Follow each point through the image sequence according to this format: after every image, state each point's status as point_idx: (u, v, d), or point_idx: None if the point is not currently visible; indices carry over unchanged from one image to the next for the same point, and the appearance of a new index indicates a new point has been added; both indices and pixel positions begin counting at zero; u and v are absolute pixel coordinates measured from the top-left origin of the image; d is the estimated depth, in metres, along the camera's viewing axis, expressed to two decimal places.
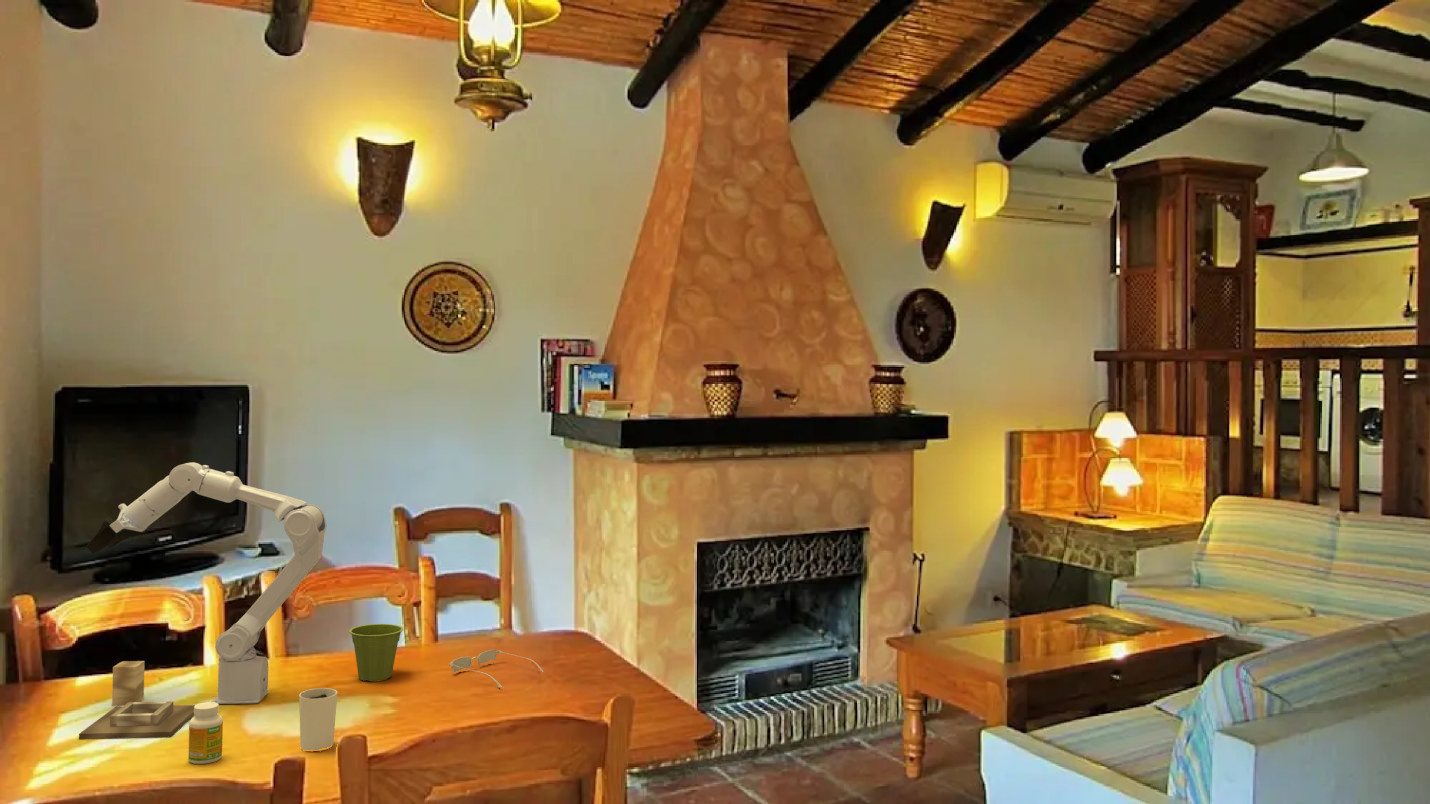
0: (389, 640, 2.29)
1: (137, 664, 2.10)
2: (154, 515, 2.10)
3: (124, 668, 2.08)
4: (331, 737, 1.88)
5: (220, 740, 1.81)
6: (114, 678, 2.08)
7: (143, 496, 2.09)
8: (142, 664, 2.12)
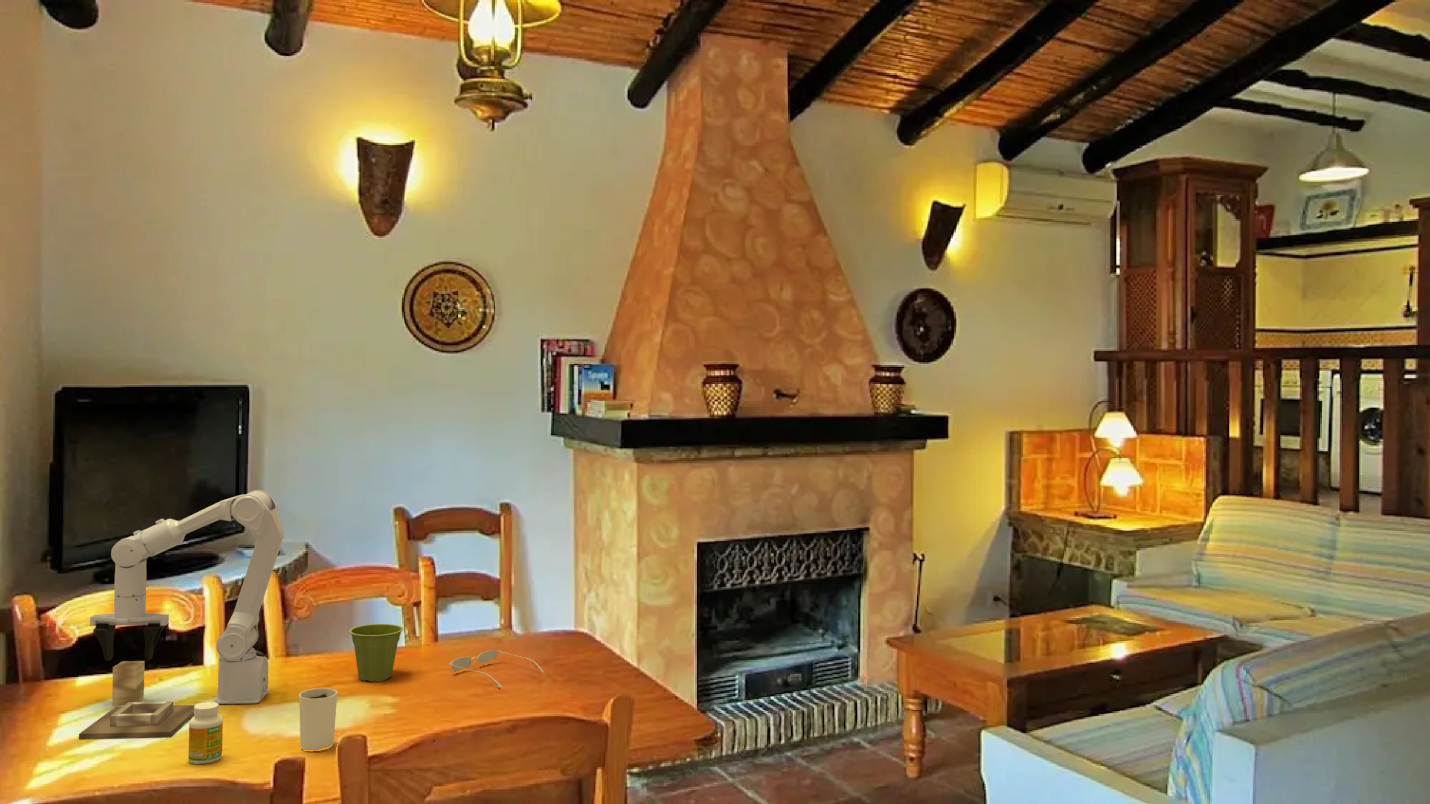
0: (389, 640, 2.29)
1: (137, 664, 2.10)
2: None
3: (124, 668, 2.08)
4: (331, 737, 1.88)
5: (220, 740, 1.81)
6: (114, 678, 2.08)
7: (115, 594, 2.08)
8: (142, 664, 2.12)
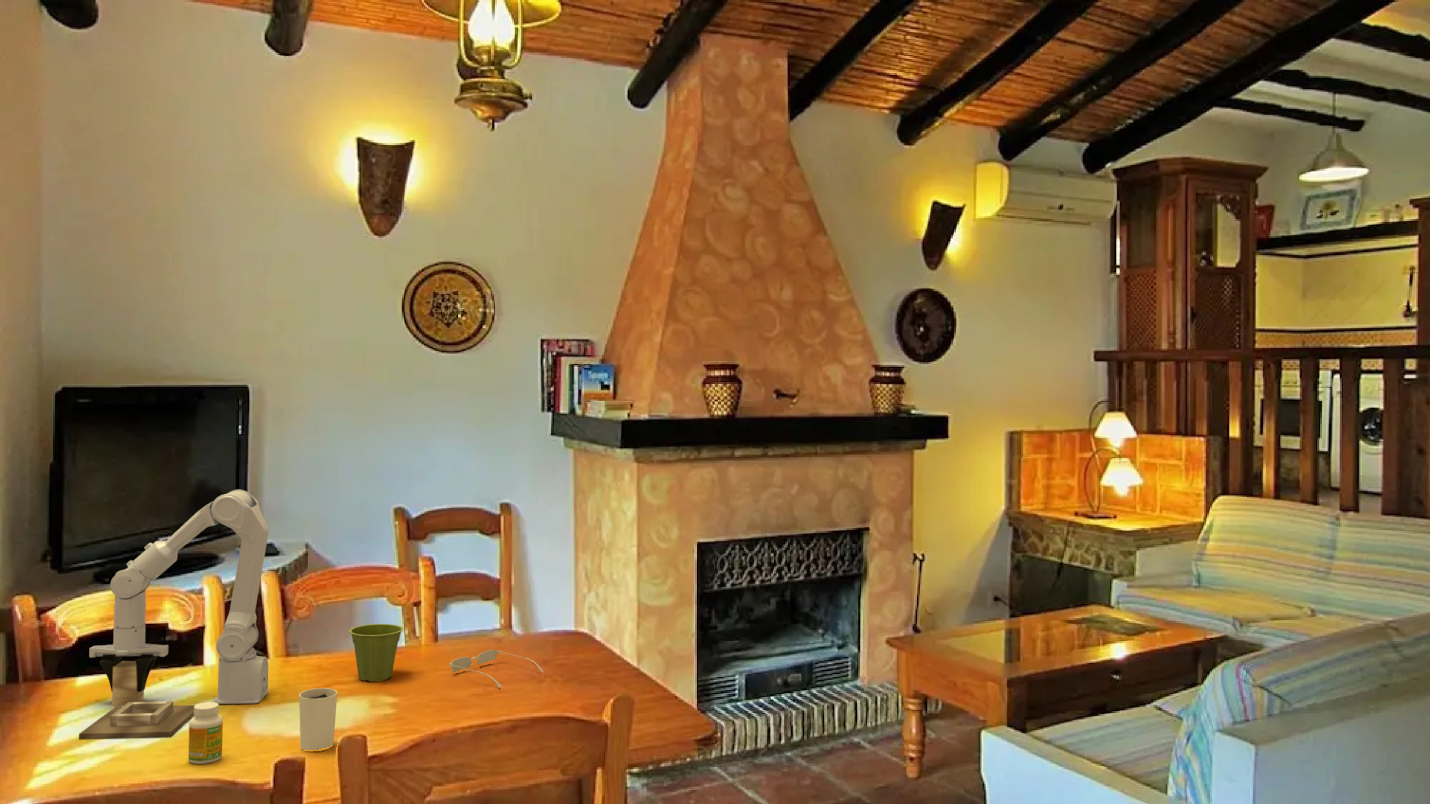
0: (389, 640, 2.29)
1: None
2: None
3: (124, 668, 2.08)
4: (331, 737, 1.88)
5: (220, 740, 1.81)
6: (114, 678, 2.08)
7: (114, 626, 2.08)
8: None
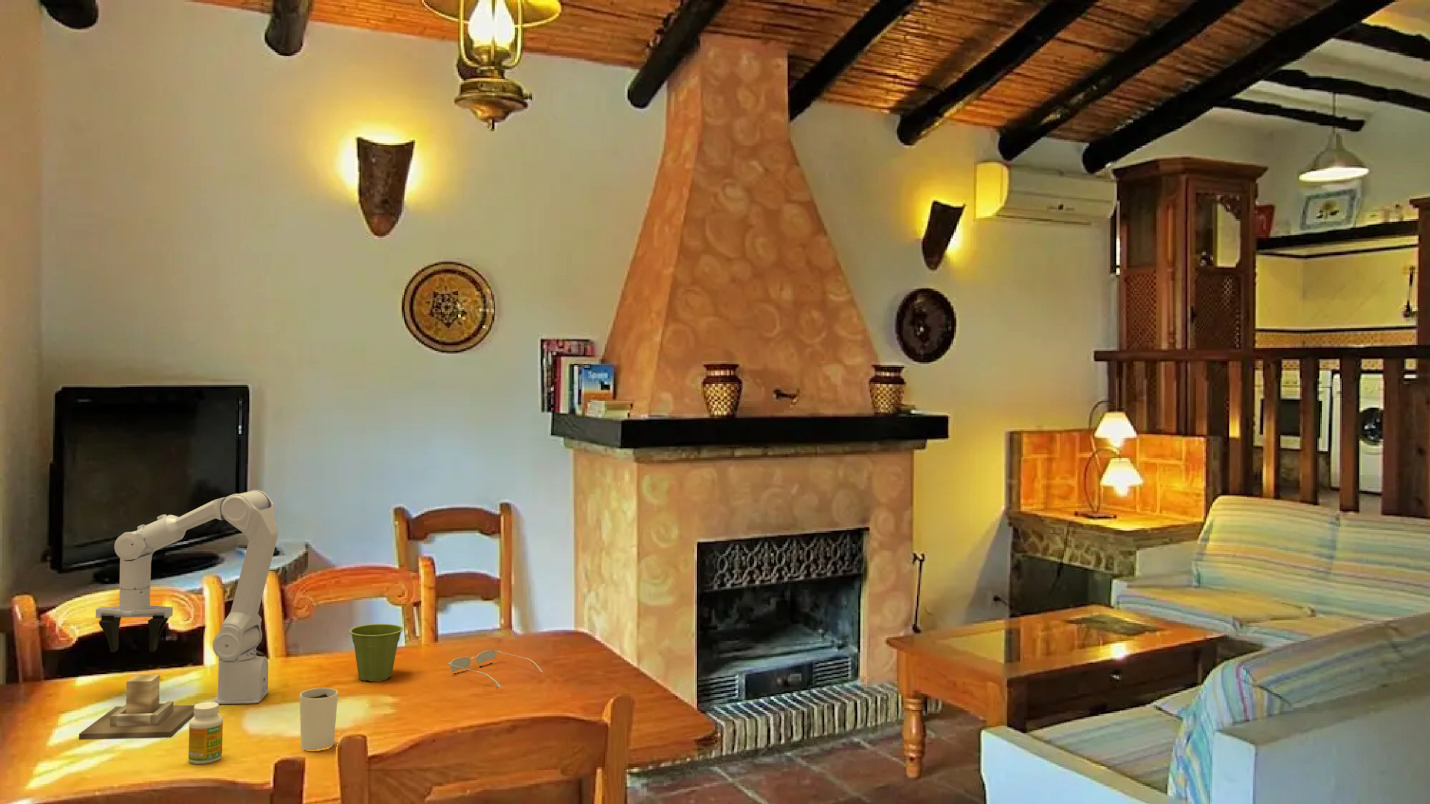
0: (389, 640, 2.29)
1: (152, 678, 1.98)
2: None
3: (138, 683, 1.95)
4: (332, 737, 1.88)
5: (220, 740, 1.81)
6: (128, 693, 1.95)
7: None
8: (157, 678, 1.99)
